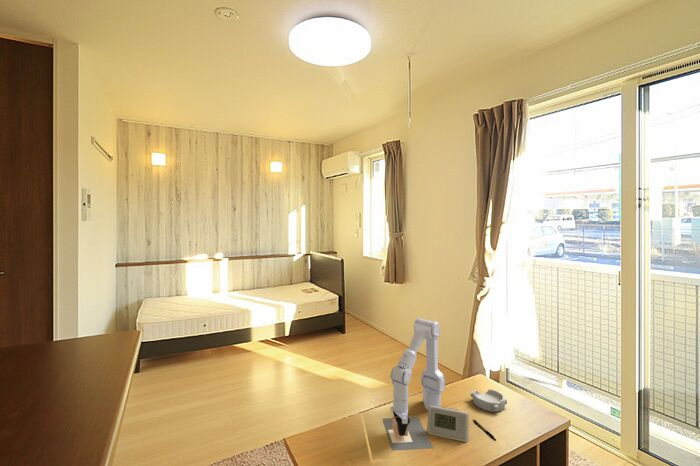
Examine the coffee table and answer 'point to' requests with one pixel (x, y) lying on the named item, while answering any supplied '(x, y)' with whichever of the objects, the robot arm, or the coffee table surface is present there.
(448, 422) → the digital clock
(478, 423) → the pen
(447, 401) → the coffee table surface
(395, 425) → the block
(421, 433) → the mat
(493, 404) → the dish
